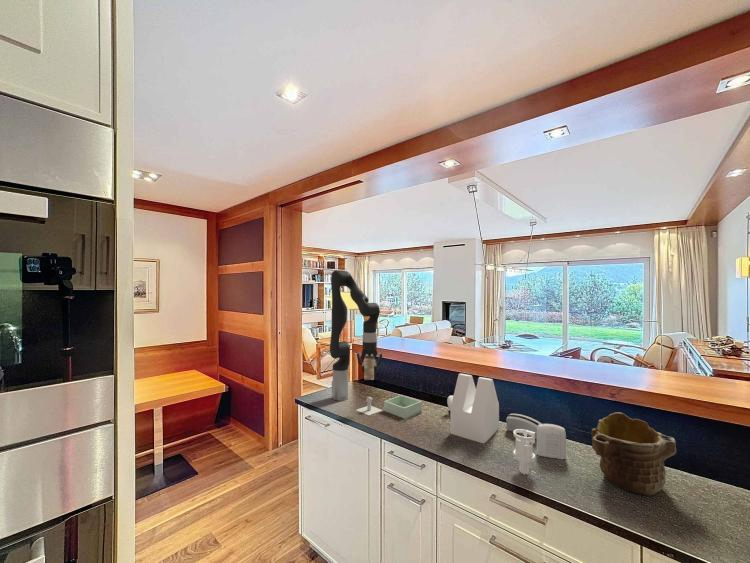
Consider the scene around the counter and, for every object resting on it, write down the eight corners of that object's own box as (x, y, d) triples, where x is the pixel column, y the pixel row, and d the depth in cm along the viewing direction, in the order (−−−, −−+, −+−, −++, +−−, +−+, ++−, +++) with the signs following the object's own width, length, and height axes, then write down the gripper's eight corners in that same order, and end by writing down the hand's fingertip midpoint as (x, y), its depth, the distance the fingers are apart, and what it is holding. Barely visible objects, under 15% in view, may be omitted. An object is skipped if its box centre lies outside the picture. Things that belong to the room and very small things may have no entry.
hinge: (548, 439, 143) (545, 419, 141) (544, 446, 140) (541, 426, 138) (511, 426, 156) (507, 408, 153) (506, 432, 153) (503, 414, 151)
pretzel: (458, 419, 163) (458, 401, 163) (440, 411, 173) (440, 394, 173) (473, 414, 170) (473, 397, 170) (455, 407, 180) (455, 391, 180)
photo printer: (564, 455, 129) (564, 424, 129) (567, 461, 125) (567, 428, 125) (535, 451, 132) (535, 420, 132) (537, 456, 128) (537, 425, 128)
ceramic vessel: (673, 498, 90) (611, 408, 105) (602, 511, 107) (557, 431, 122) (713, 477, 100) (651, 397, 114) (642, 492, 117) (596, 420, 131)
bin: (383, 412, 172) (384, 401, 172) (401, 405, 182) (401, 394, 182) (404, 420, 162) (404, 408, 162) (421, 412, 172) (421, 401, 172)
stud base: (355, 411, 173) (355, 396, 173) (369, 406, 180) (369, 392, 180) (368, 417, 166) (368, 401, 166) (382, 412, 173) (382, 396, 173)
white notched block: (467, 420, 163) (467, 369, 164) (498, 428, 154) (498, 375, 154) (450, 433, 148) (450, 378, 148) (484, 444, 139) (484, 384, 139)
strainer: (533, 480, 113) (533, 436, 113) (511, 473, 116) (511, 431, 117) (536, 470, 119) (535, 428, 119) (515, 464, 122) (515, 424, 123)
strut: (364, 379, 170) (364, 356, 170) (364, 376, 175) (364, 354, 175) (373, 379, 170) (374, 356, 170) (374, 377, 175) (374, 354, 175)
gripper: (355, 341, 169) (355, 374, 169) (383, 342, 169) (382, 375, 169) (356, 339, 177) (356, 370, 177) (383, 339, 177) (382, 371, 177)
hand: (369, 372), depth 173 cm, fingers closed on strut, 5 cm apart
